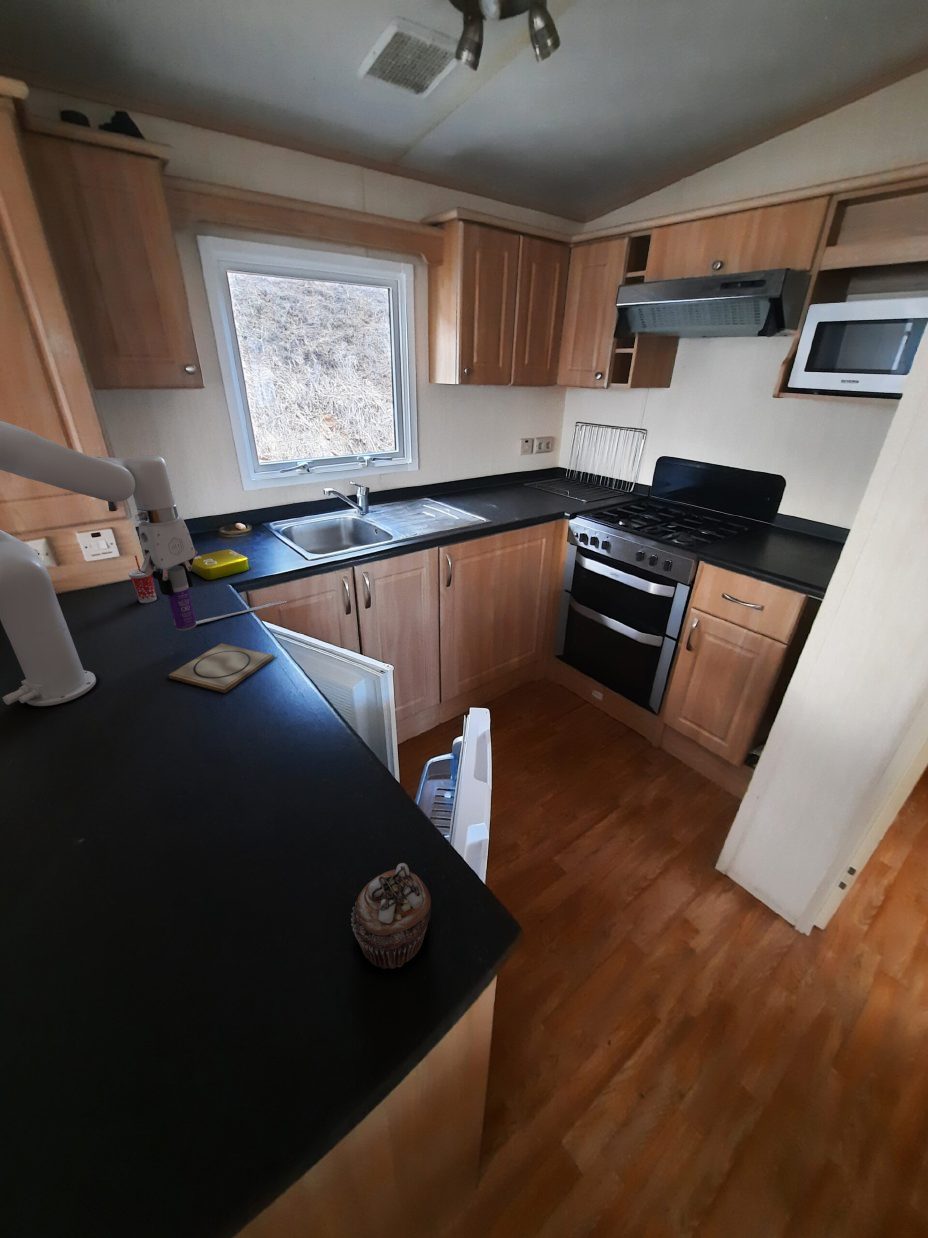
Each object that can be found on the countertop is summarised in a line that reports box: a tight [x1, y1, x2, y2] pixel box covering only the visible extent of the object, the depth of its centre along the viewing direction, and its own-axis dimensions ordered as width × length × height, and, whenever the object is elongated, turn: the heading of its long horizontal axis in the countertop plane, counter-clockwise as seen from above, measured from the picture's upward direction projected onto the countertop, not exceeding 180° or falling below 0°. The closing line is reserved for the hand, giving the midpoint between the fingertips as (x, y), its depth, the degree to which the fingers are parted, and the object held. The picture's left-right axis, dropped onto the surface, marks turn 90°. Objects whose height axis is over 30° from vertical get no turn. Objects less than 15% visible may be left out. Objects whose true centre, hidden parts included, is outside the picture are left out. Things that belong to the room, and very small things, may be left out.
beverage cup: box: [127, 555, 158, 604], centre depth 150 cm, size 6×6×14 cm
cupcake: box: [350, 862, 432, 970], centre depth 61 cm, size 10×10×10 cm
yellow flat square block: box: [190, 548, 250, 581], centre depth 175 cm, size 15×15×5 cm
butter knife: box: [195, 600, 287, 626], centre depth 146 cm, size 1×27×3 cm
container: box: [167, 565, 197, 632], centre depth 121 cm, size 5×5×15 cm
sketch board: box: [168, 642, 275, 694], centre depth 119 cm, size 16×16×1 cm
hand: (177, 589), depth 120 cm, fingers closed on container, 4 cm apart
